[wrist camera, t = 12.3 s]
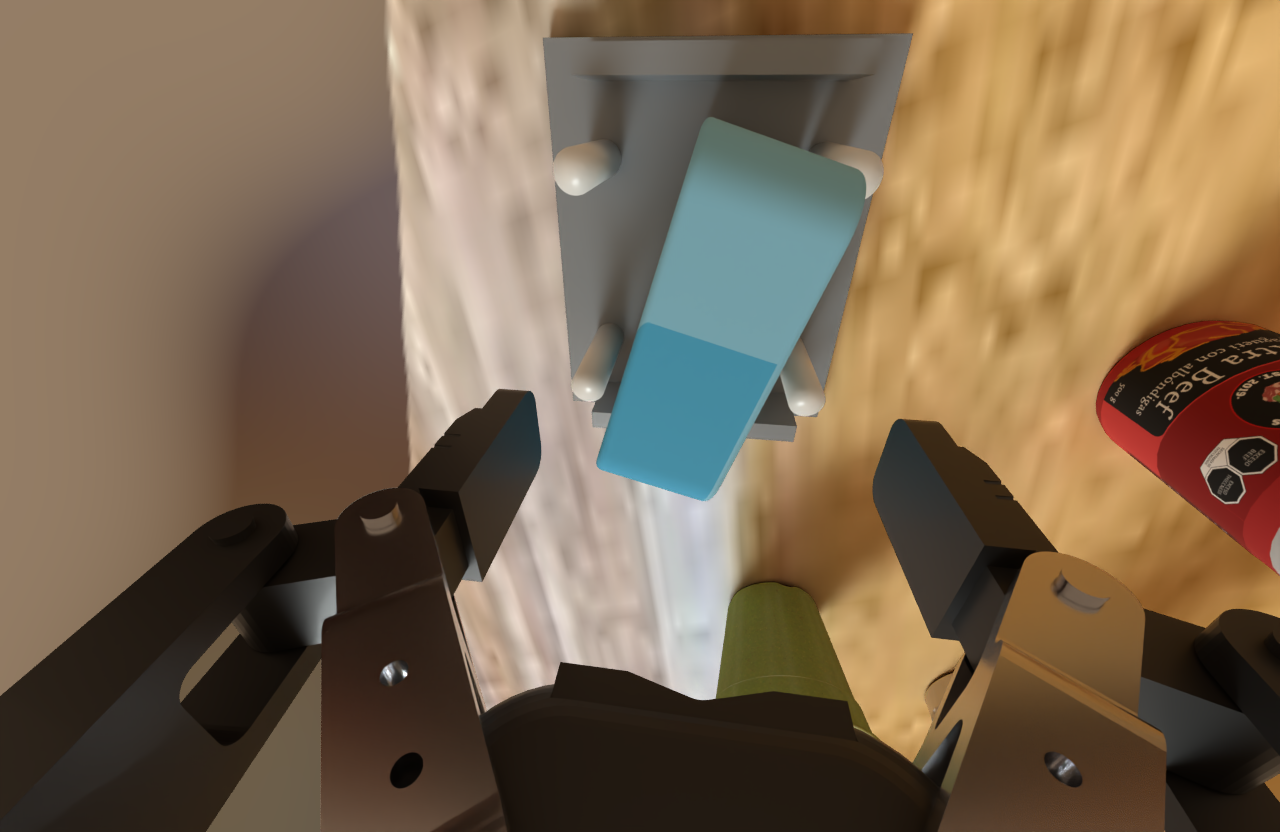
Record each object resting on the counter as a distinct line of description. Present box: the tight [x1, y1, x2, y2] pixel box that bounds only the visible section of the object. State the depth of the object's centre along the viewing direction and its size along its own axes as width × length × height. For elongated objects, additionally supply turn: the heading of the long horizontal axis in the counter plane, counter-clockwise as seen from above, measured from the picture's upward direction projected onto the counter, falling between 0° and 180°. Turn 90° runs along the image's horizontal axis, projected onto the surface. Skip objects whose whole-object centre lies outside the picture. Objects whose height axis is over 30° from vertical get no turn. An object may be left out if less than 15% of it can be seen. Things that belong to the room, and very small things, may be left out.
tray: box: [543, 34, 913, 442], centre depth 22 cm, size 15×18×7 cm
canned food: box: [1096, 321, 1280, 576], centre depth 21 cm, size 8×8×11 cm
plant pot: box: [716, 582, 881, 741], centre depth 35 cm, size 12×12×11 cm
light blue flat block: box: [596, 117, 866, 501], centre depth 19 cm, size 12×4×12 cm, turn 164°
